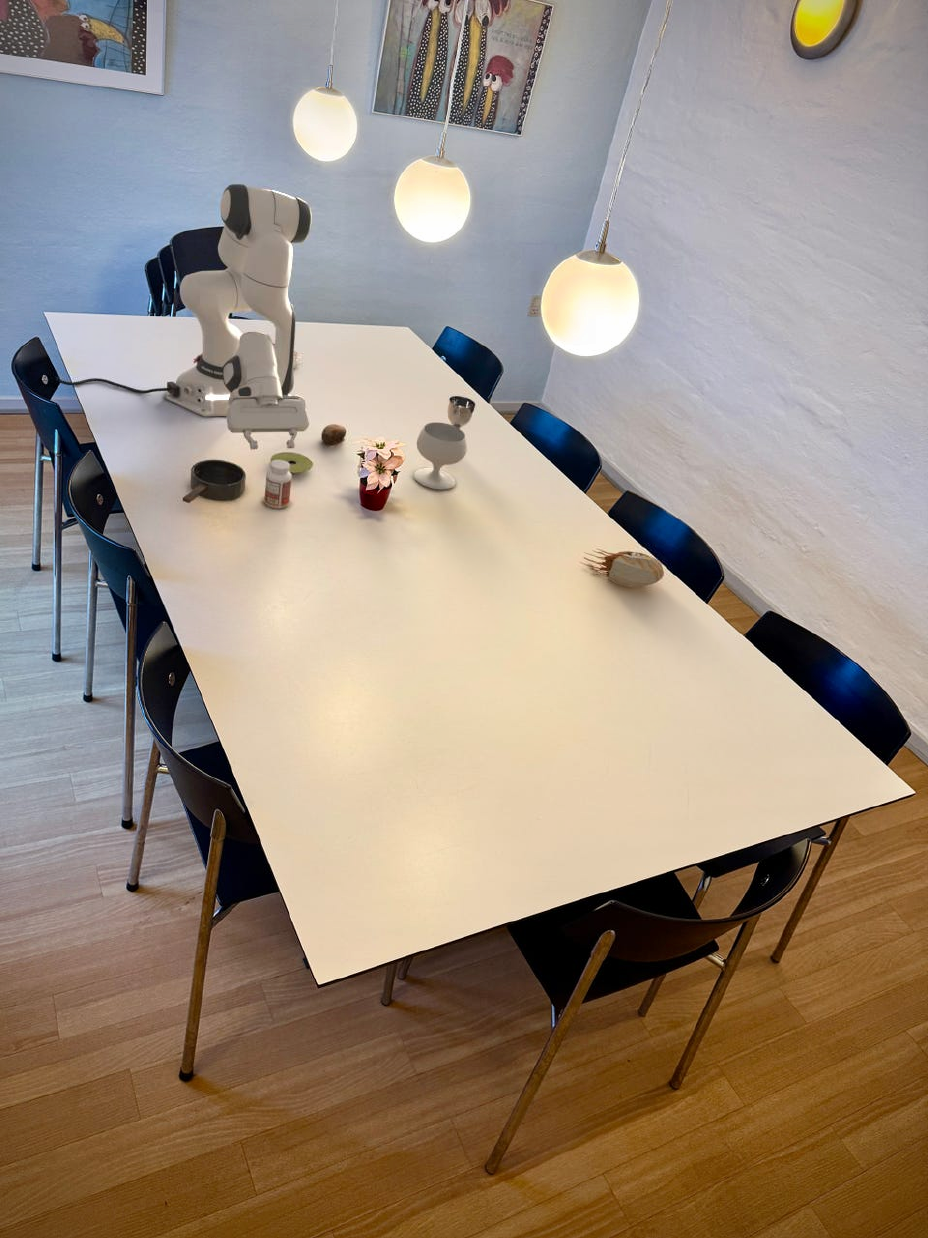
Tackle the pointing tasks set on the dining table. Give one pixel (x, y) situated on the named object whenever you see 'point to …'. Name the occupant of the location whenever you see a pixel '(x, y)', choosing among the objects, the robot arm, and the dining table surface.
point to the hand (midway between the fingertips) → (272, 448)
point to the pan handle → (195, 493)
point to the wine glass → (460, 410)
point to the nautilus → (630, 568)
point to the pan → (219, 479)
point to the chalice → (439, 453)
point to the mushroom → (333, 434)
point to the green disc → (294, 461)
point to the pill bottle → (278, 484)
